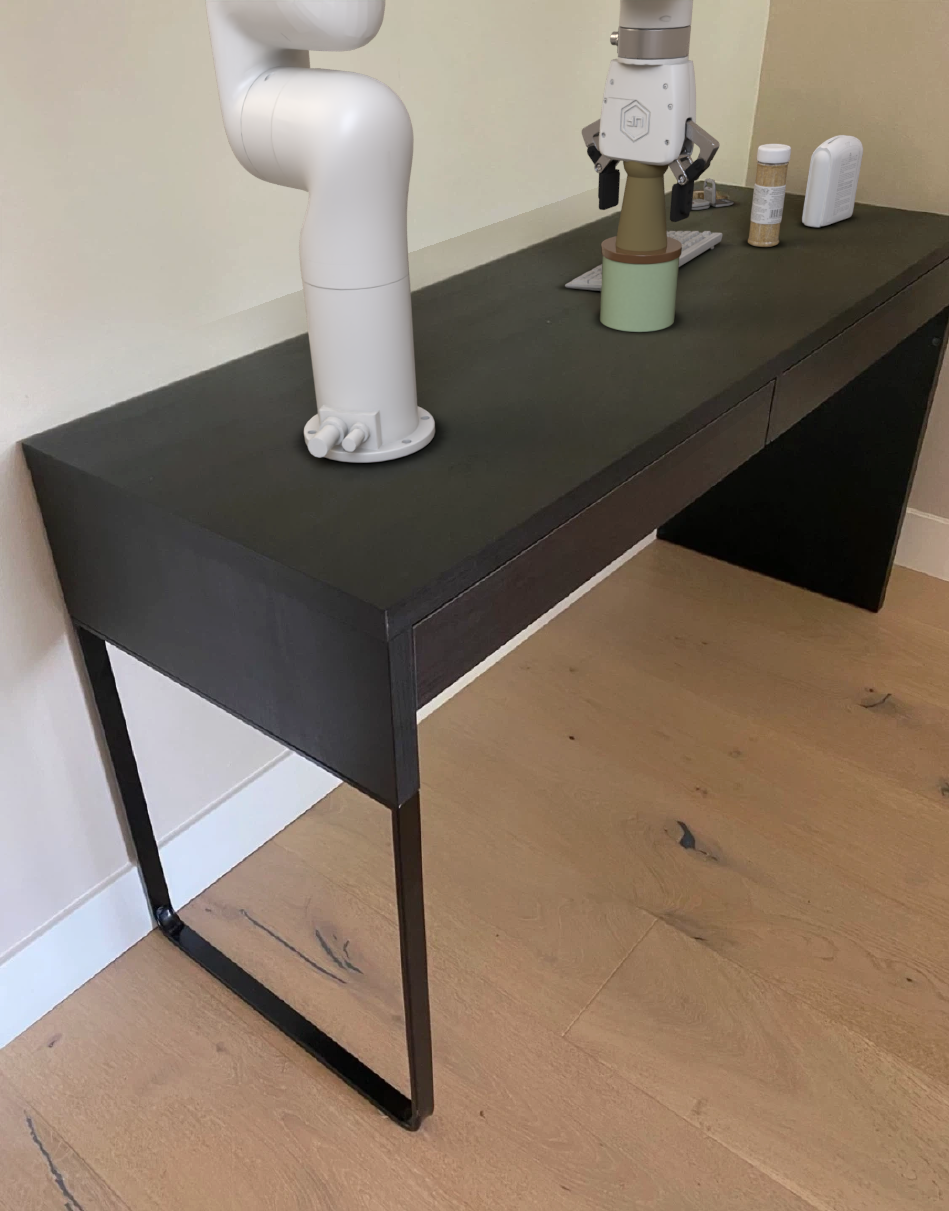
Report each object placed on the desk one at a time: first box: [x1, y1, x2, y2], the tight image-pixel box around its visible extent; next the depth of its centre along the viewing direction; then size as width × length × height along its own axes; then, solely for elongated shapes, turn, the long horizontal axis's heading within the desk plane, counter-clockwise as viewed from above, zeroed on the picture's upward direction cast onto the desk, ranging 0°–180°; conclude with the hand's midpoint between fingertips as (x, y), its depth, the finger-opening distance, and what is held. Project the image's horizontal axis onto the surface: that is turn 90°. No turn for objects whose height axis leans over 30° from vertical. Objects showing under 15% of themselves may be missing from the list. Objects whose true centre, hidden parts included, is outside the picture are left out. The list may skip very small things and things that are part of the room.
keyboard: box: [564, 230, 723, 292], centre depth 145 cm, size 29×10×2 cm, turn 147°
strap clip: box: [691, 178, 735, 211], centre depth 172 cm, size 8×3×4 cm, turn 113°
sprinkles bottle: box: [747, 143, 792, 248], centre depth 149 cm, size 5×5×13 cm
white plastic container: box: [801, 134, 864, 228], centre depth 159 cm, size 10×4×12 cm, turn 134°
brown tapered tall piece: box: [615, 161, 670, 251], centre depth 119 cm, size 6×6×11 cm
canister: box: [599, 235, 682, 333], centre depth 124 cm, size 9×9×9 cm
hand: (643, 213), depth 120 cm, fingers open, 9 cm apart
